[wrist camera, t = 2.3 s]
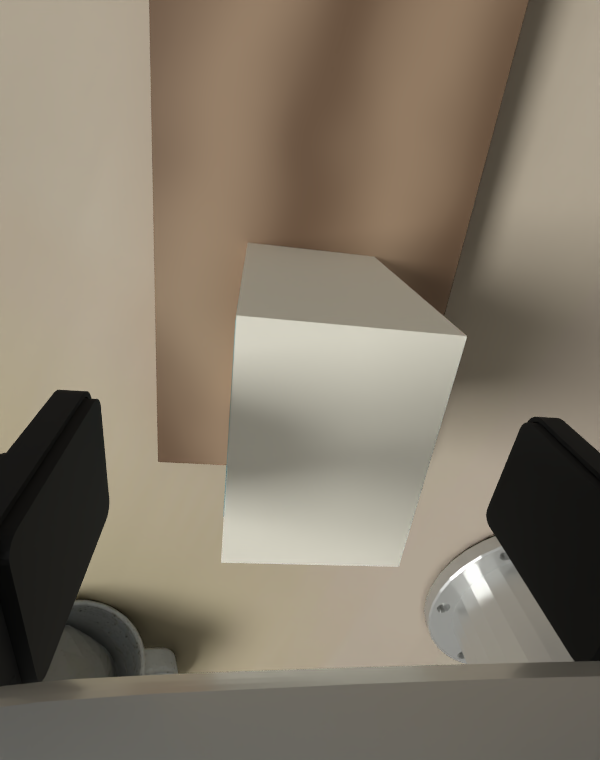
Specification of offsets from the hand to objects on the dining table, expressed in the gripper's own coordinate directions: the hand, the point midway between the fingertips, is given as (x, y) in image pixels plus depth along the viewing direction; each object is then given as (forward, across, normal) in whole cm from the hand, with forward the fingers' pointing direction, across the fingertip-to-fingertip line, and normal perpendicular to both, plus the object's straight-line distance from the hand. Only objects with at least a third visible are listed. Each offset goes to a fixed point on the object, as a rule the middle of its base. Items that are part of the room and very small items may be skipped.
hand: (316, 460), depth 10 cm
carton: (+10, -1, +1) cm, 10 cm away
